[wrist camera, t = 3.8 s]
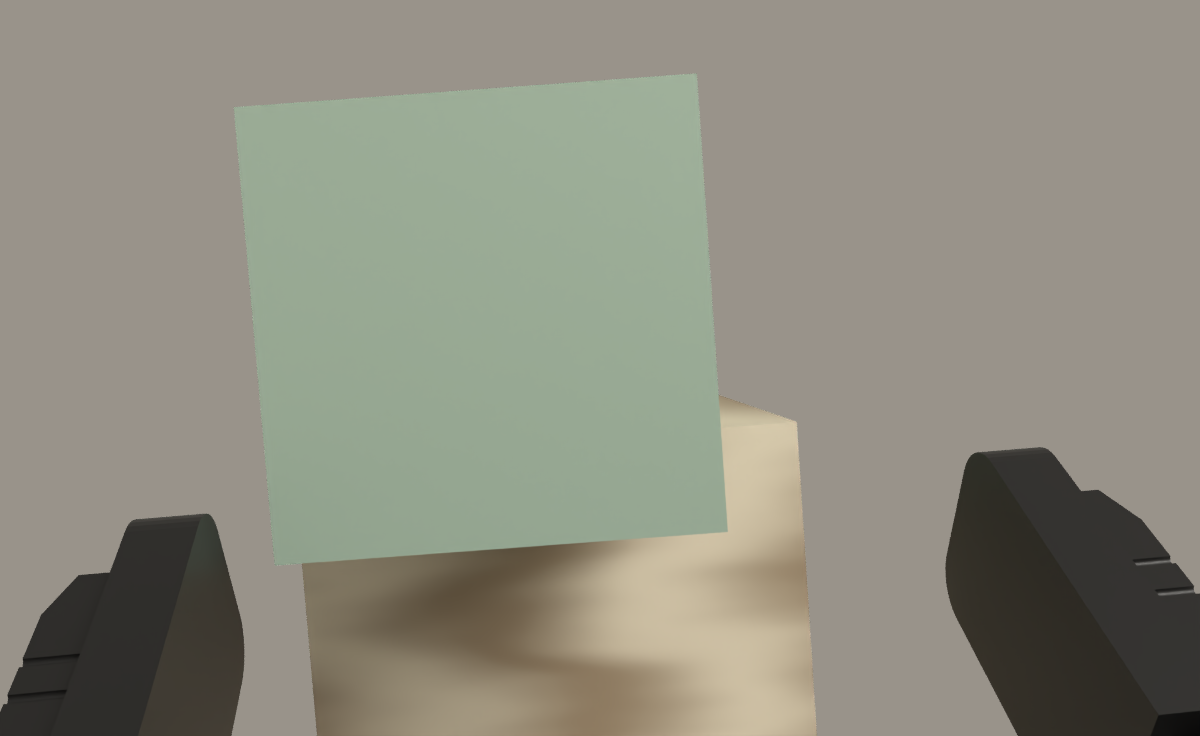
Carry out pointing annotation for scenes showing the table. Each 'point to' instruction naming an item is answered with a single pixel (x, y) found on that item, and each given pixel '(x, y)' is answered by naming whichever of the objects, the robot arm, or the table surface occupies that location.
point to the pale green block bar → (483, 318)
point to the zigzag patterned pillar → (584, 625)
